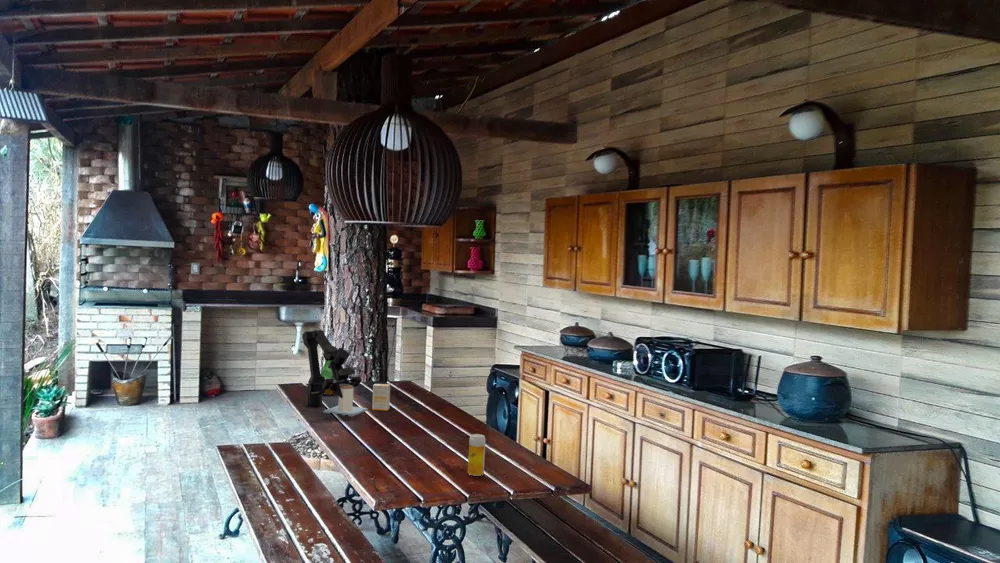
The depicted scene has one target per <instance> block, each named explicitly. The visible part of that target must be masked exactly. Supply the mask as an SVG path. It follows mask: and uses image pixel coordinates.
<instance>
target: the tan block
mask: <svg viewBox="0 0 1000 563" xmlns="http://www.w3.org/2000/svg"><path fill="white" fill-rule="evenodd" d="M339 387H340V390H341V392H342V396H343V398H340V397H339V396H338V402H337V403H338V404H337V406H338V410H340V411H342V412H347V411H352V408H353V407H354V405H353V403H354V388H355V387H354V386H351V385H349V384H348V385H347V384H344V385H339Z"/></svg>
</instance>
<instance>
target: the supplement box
mask: <svg viewBox="0 0 1000 563" xmlns="http://www.w3.org/2000/svg"><path fill="white" fill-rule="evenodd" d="M390 397H391V384H387V383H374V384H373V385H372V405H371V406H372V407H371V409H372V410H373V411H386V412H387V411H389V410H390V403H391V402H390V401H391V400H390V399H391V398H390Z"/></svg>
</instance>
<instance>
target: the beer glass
mask: <svg viewBox="0 0 1000 563" xmlns="http://www.w3.org/2000/svg"><path fill="white" fill-rule="evenodd" d="M486 439H487V438H486V436H485V435H484V434H480V433H473V434H471V435H470V437H469V442H468V444H469V445H468V459H467V461H468V463H467V474H468V476H470V475H473V476H481V475H482V476H483V475H484V473H485V461H486V460H485V458H486V457H485V456H486ZM482 476H481V477H482Z"/></svg>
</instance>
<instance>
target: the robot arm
mask: <svg viewBox="0 0 1000 563" xmlns="http://www.w3.org/2000/svg"><path fill="white" fill-rule="evenodd" d="M301 338H302V342H303V344H304V347H305V348H306V349H307V354H308V362H309V363H308V364H309V370H310V371H309V372H310V376H309V379H308V384H307V386H306V388H305V395H307V404H306V405H305V406H306V407H310V408H311V407H312V408H319V407H322V406H324V403H323V397H322V396H323V395H324V393H325V390H326V389H329V388H330V387H331V388H330V390H332V391H333V394H334V393H335V394H336V395H337V396H338V398H339V397H340V398H343V396H342V392H341V390H340V387H339V385H348V384H349V385H351V386H354V387H353V388H357V387H359V386H360V383H362V380H363V379H362V377H361V376H358V375H357V376H352V377H351V378H350V375H352V374H354V373H355V369H354V366H349V367H343V365H345V363H346V362H347V360H348V358H349V357H350V353H349V351H347V350H346V349H344V347H339V348H337V347H336V346H334V345H333V344H332V345H331V343H332V342H331V341H330V340H329V339H328V337H327V336H326V335H325V332H324V330H322V329H315V330H311V331H310V330H309V331H308V330H307V331H304V333H302V336H301ZM318 346H320V348H321V350H322V356H323V359H324V360H325V362H326V361H331V362H330V364H329V366H328V368H329V369H330V368H331V371H332V374H333V375H332V378H329V379H325V377H324V376H323V377H322V375H321V366H320V361H319V350H318ZM333 378H334V379H333ZM349 378H350V379H349Z"/></svg>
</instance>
